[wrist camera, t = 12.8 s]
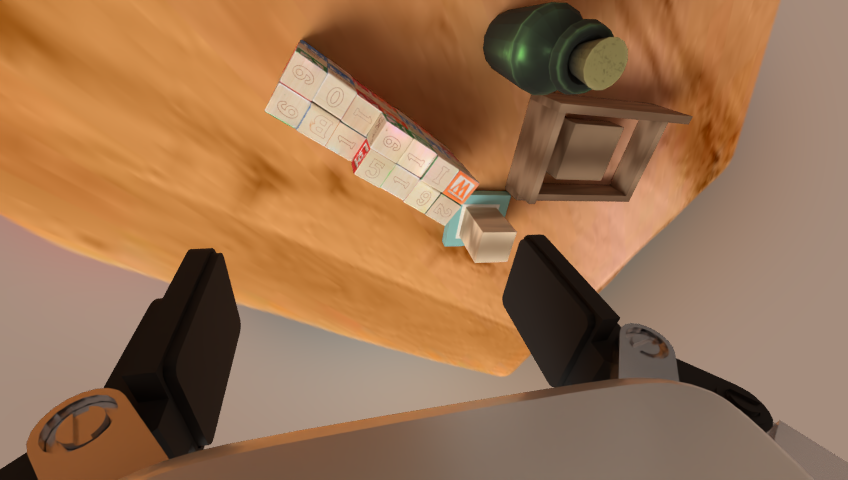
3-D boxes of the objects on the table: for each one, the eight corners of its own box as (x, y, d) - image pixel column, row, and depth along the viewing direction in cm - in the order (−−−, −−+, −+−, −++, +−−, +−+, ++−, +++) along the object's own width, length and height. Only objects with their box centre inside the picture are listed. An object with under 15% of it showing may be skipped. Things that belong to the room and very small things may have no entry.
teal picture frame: (451, 190, 51) (455, 195, 50) (506, 191, 54) (511, 195, 52) (442, 241, 56) (444, 246, 55) (493, 240, 59) (496, 245, 57)
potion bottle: (462, 52, 41) (537, 81, 27) (506, -17, 38) (618, -27, 24) (508, 92, 45) (596, 135, 31) (552, 32, 42) (671, 48, 28)
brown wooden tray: (532, 90, 46) (561, 103, 40) (652, 103, 51) (692, 116, 46) (504, 188, 53) (526, 210, 48) (611, 190, 59) (642, 210, 53)
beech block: (465, 207, 52) (483, 232, 46) (496, 207, 53) (516, 232, 47) (459, 235, 54) (474, 262, 49) (488, 235, 56) (507, 261, 50)
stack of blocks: (273, 89, 39) (257, 119, 29) (301, 37, 37) (293, 51, 27) (421, 182, 50) (445, 228, 40) (448, 146, 48) (481, 185, 38)
